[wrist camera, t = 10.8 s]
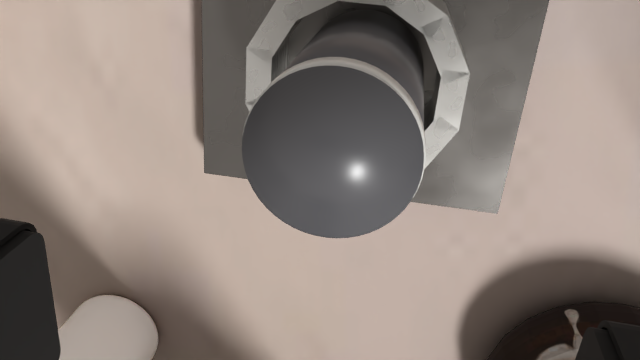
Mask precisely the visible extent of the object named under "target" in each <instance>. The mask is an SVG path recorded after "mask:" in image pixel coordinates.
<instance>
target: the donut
mask: <svg viewBox="0 0 640 360" xmlns="http://www.w3.org/2000/svg"><path fill="white" fill-rule="evenodd" d="M603 320H608V321H614V322H620V323H626V324H631V325H637V326H640V309H638V308H635V307H632V306H628V305H625V304H612V303H596V302H588V303H582V304H575V305H569V306H562V307H557V308H554V309H552V310H549V311H547V312H544V313H542V314H539V315H537V316H534V317H532V318H529V319H527V320H526V321H524V322H523V323H522V324H520V325H519V326H518V327H516V328H515V329H513V330H512V331H511V332H509V333H508V334H506V335H505V336H504V338H503V339H502V340H501V341H500V343H499V344H498V345H497V347H496V348H495V349H494V351H493V352H492V353H491V355H490V356H489V358H488V359H487V360H575V358H576V356H577V353H578V350H579V347H580V344H581V341H582V338H583V336H584V333H585V331H586V329H587V328H588V327H594V328H597V327H598V325H599V324H600V322H601V321H603Z"/></svg>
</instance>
